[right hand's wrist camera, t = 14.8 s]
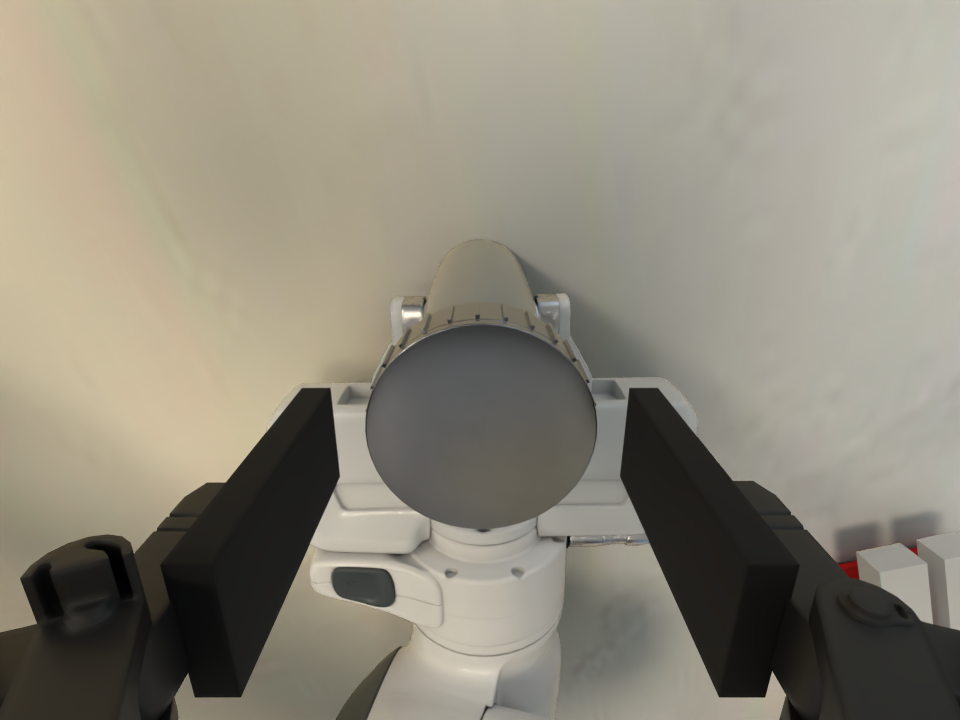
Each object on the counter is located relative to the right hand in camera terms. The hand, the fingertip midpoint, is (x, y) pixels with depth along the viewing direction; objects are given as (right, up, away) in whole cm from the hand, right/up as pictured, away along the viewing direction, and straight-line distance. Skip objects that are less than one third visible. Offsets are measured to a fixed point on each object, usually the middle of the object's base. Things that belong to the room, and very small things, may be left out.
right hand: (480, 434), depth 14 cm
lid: (0, 0, 0) cm, 0 cm away
